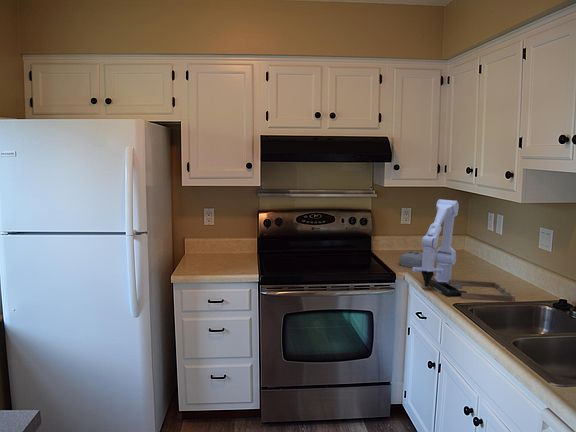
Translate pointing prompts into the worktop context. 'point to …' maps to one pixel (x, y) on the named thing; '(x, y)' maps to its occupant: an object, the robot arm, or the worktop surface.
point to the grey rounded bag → (411, 259)
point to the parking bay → (505, 297)
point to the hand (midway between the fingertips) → (426, 286)
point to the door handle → (447, 288)
